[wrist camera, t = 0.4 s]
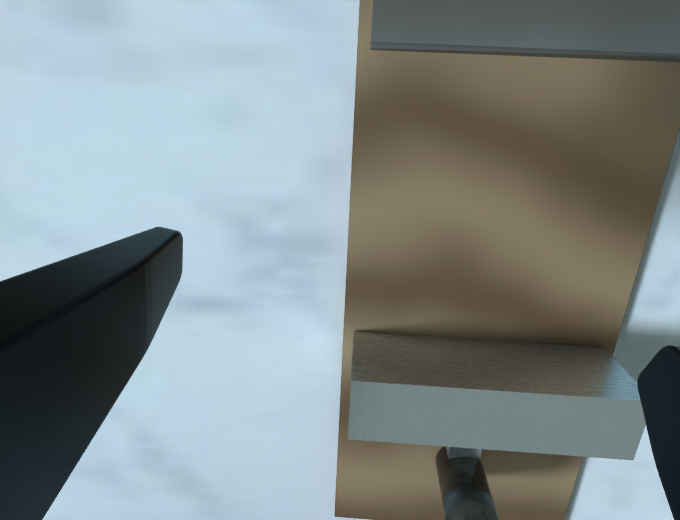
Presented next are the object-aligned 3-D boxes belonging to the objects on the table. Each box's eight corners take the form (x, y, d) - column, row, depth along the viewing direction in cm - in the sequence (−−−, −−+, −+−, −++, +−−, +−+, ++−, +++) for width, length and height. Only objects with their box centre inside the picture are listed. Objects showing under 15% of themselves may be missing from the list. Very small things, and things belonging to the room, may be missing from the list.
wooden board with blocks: (554, 522, 27) (591, 608, 23) (335, 504, 28) (329, 585, 23) (710, -24, 17) (829, -61, 13) (362, -35, 18) (360, -75, 13)
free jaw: (565, 485, 25) (610, 576, 20) (345, 468, 26) (340, 554, 21) (605, 347, 22) (669, 418, 17) (353, 331, 22) (350, 396, 18)
